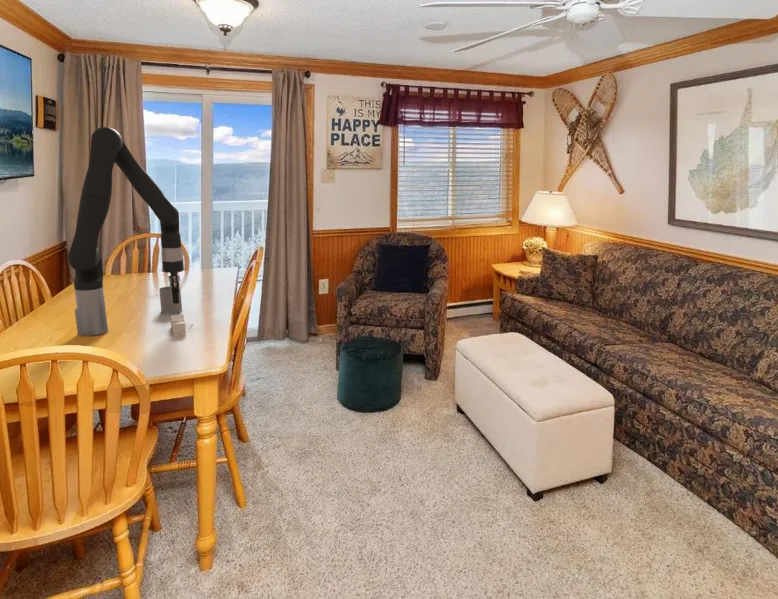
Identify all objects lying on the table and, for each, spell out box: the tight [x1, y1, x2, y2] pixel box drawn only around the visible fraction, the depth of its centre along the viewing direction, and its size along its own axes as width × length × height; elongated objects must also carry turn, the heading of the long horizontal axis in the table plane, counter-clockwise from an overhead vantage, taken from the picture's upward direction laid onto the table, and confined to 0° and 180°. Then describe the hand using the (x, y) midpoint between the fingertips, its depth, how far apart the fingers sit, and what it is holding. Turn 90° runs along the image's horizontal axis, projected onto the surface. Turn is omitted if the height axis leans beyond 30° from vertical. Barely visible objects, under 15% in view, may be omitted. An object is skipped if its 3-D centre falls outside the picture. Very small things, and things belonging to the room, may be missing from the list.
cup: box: [159, 285, 183, 314], centre depth 231 cm, size 8×8×10 cm
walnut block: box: [170, 314, 187, 337], centre depth 205 cm, size 4×4×12 cm
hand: (176, 303), depth 208 cm, fingers closed
